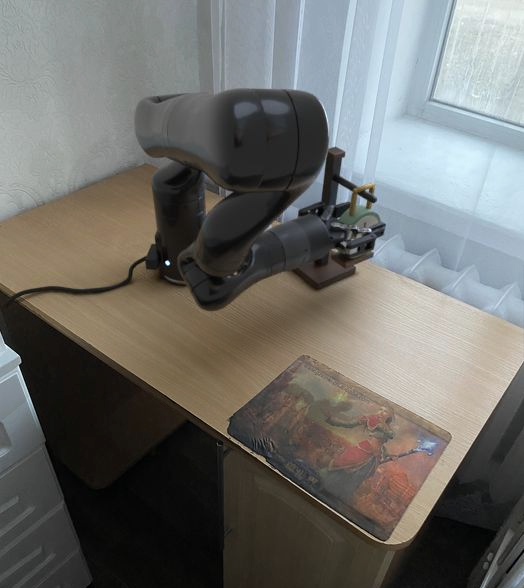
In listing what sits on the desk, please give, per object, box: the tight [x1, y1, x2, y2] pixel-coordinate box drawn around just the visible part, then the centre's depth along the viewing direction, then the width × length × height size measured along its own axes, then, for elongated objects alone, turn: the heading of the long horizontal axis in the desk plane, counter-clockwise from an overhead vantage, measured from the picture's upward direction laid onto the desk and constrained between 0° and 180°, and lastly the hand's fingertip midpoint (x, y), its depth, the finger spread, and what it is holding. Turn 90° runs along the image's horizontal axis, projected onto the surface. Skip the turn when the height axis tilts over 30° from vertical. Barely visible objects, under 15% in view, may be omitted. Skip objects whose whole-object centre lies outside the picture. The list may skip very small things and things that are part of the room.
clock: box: [331, 182, 382, 269], centre depth 94 cm, size 9×4×14 cm, turn 126°
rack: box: [292, 146, 378, 290], centre depth 98 cm, size 16×10×24 cm, turn 36°
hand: (366, 217), depth 95 cm, fingers open, 8 cm apart
